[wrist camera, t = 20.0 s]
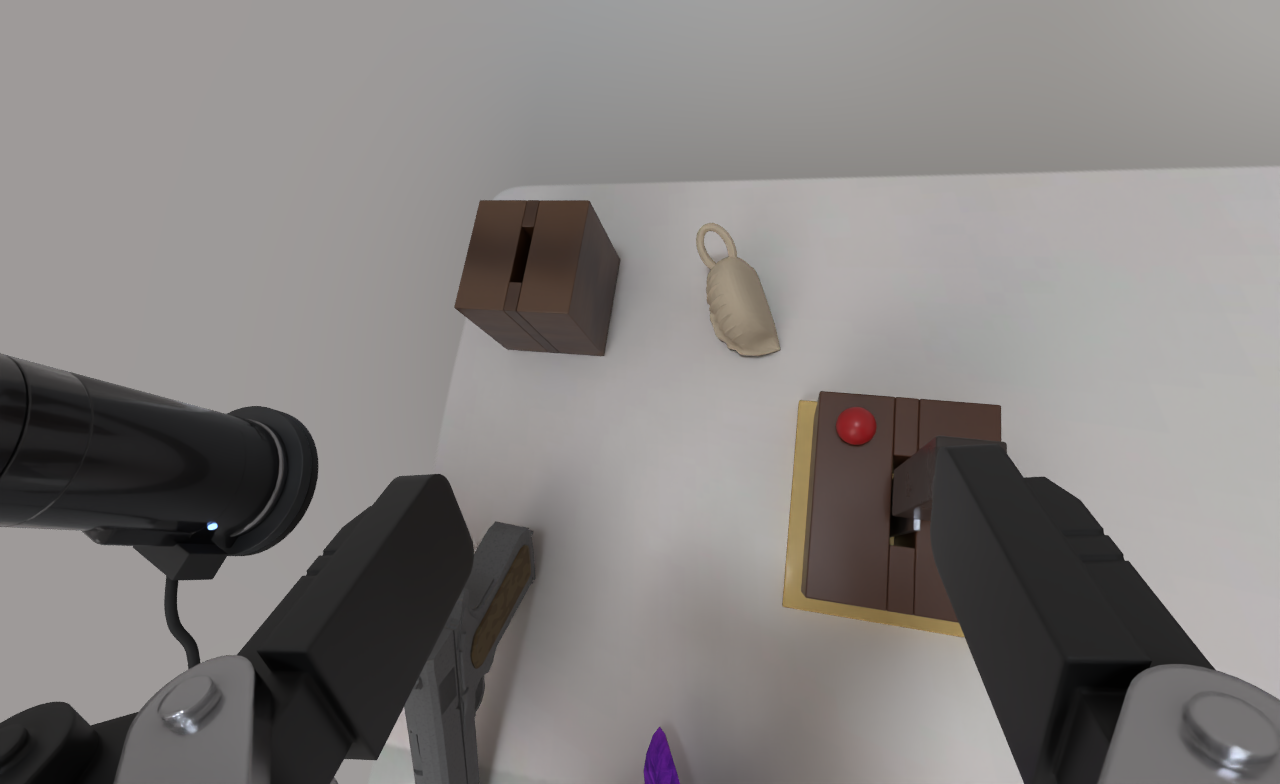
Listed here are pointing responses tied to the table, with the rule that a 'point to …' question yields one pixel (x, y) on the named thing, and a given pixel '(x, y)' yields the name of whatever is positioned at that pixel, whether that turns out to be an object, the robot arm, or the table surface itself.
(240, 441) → the robot arm
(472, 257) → the knife block
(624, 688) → the table surface
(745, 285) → the decorative ornament
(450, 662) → the handgun
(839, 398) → the cake
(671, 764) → the decorative flower
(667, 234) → the table surface
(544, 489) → the table surface
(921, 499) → the knife
